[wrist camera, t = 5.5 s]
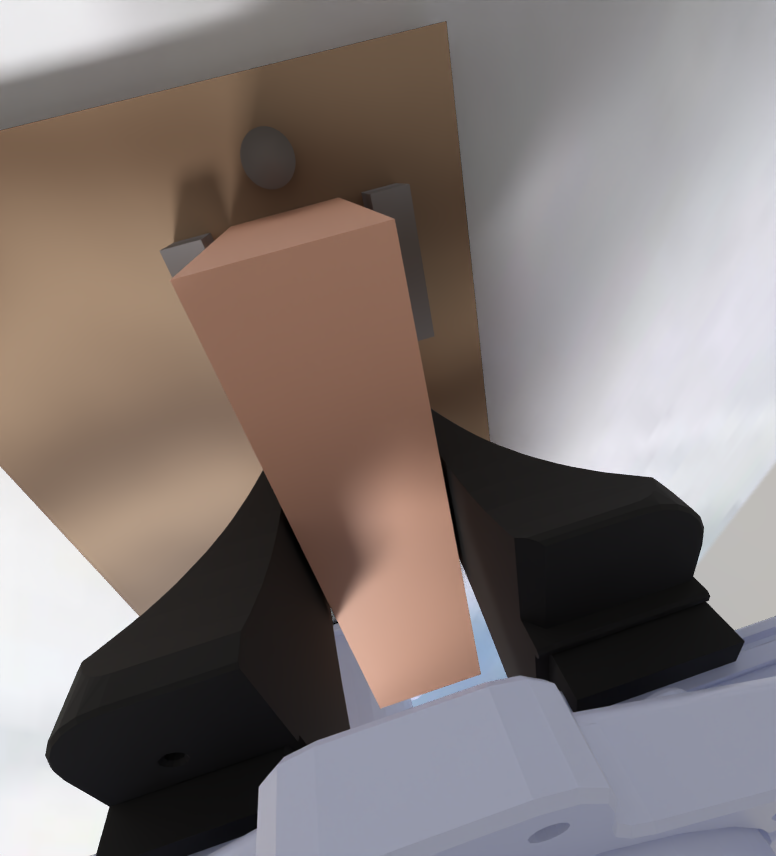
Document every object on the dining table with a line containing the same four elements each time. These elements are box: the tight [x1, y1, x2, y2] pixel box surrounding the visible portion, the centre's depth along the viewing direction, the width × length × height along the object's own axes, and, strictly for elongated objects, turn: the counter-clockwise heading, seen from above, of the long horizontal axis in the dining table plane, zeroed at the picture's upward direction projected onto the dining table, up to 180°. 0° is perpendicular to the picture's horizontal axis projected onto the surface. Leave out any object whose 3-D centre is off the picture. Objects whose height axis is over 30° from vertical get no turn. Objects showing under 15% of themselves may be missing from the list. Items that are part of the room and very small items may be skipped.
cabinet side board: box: [0, 21, 490, 616], centre depth 14 cm, size 18×16×3 cm
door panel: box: [170, 198, 481, 709], centre depth 12 cm, size 12×3×7 cm, turn 12°
